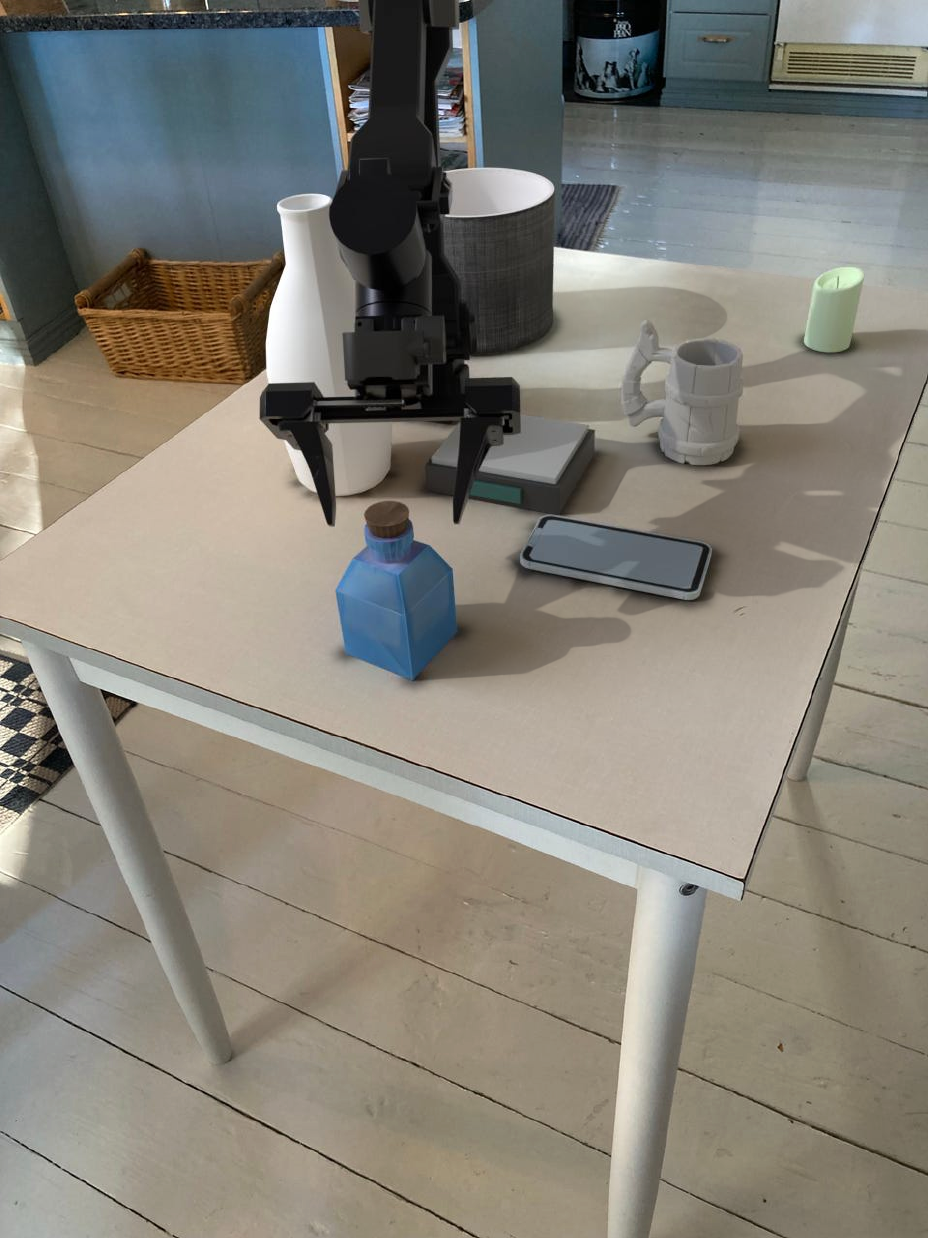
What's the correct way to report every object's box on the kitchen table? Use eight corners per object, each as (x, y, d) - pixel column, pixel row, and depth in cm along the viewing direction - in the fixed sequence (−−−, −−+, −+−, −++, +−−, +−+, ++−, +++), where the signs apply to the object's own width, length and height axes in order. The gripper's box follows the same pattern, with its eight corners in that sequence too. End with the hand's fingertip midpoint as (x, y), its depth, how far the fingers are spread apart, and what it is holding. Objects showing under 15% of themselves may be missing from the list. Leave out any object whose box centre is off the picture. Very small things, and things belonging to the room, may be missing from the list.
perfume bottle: (412, 680, 73) (397, 548, 66) (345, 653, 76) (324, 523, 68) (457, 632, 77) (448, 502, 70) (392, 608, 80) (376, 480, 72)
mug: (726, 474, 93) (742, 353, 85) (605, 451, 97) (611, 334, 90) (745, 435, 98) (762, 319, 91) (630, 415, 102) (637, 302, 95)
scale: (425, 493, 93) (422, 460, 91) (470, 435, 101) (469, 403, 99) (557, 517, 89) (558, 484, 87) (594, 454, 97) (595, 422, 95)
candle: (817, 355, 111) (830, 283, 106) (795, 337, 115) (807, 267, 109) (858, 349, 112) (873, 277, 106) (835, 331, 115) (849, 261, 110)
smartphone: (698, 596, 78) (516, 560, 82) (697, 605, 79) (516, 569, 83) (714, 543, 83) (542, 512, 88) (712, 552, 84) (542, 521, 88)
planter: (518, 366, 112) (516, 224, 102) (381, 343, 119) (367, 207, 109) (574, 306, 125) (577, 174, 114) (447, 289, 131) (440, 162, 121)
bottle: (421, 455, 98) (397, 186, 82) (366, 514, 91) (328, 230, 75) (324, 435, 102) (284, 176, 86) (264, 491, 95) (207, 217, 78)
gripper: (239, 274, 66) (235, 503, 65) (518, 264, 65) (520, 498, 64) (280, 336, 78) (277, 534, 76) (519, 329, 76) (521, 530, 75)
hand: (393, 524), depth 72 cm, fingers open, 9 cm apart
